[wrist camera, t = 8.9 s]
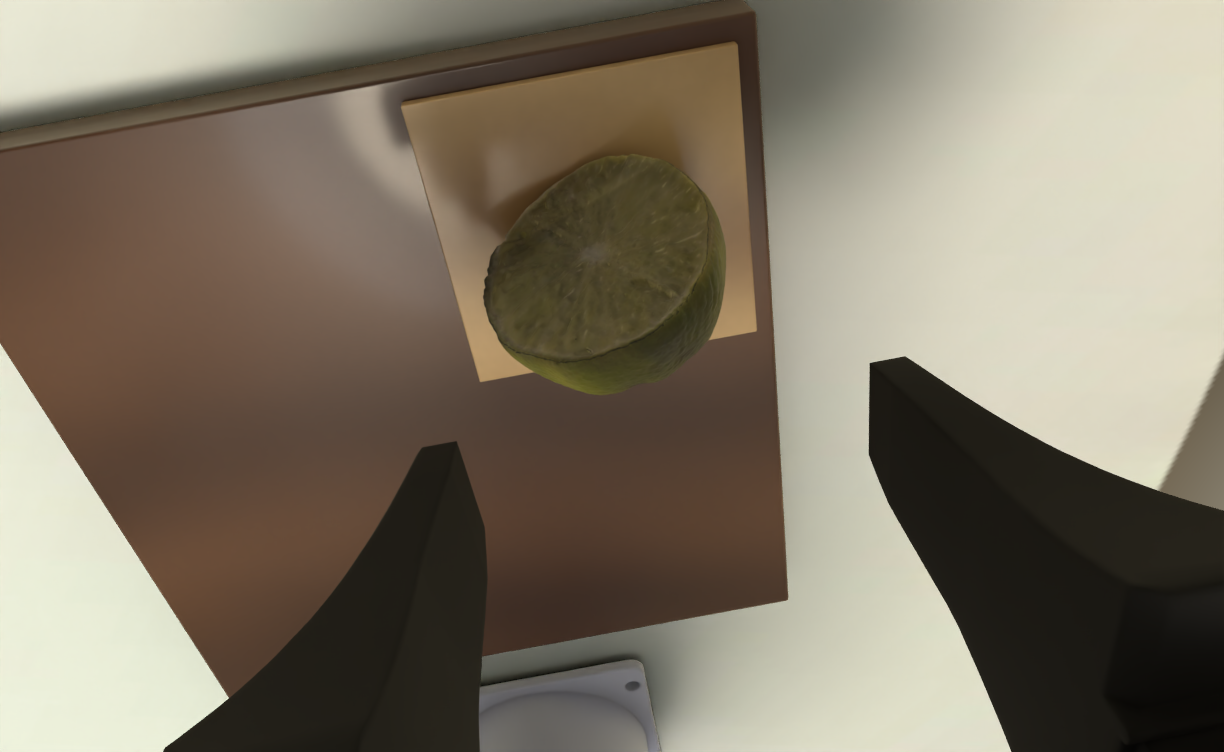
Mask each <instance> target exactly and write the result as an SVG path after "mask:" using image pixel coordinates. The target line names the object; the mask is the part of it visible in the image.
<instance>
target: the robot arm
mask: <svg viewBox="0 0 1224 752" xmlns="http://www.w3.org/2000/svg"><path fill="white" fill-rule="evenodd" d="M869 456H870V459H871V461H872V464H873V467H874V469H875V472H876V474H877V477H878V479H879V482H880V484H881V487H882V489H883V491H884V494H885V496H886V498H887V501H888V503H889V505H890V507H891V509H892V510H893V512H894V514H895V516H896V517H897V519H898V521H899V523H900V524H901V526H902V528H903V530H904V531H905V533H906V535H907V537H908V538H909V540H910V542H911V544H912V545H913V547H914V549H915V550H916V552H917V554H918V556H919V557H920V559H921V561H922V562H923V564H924V566H925V568H926V569H927V571H928V573H929V574H930V576H931V578H932V580H933V581H934V583H935V585H936V586H937V588H938V590H939V592H940V593H941V595H942V597H943V598H944V600H945V602H946V604H947V605H948V607H949V609H950V611H951V613H952V615H953V617H954V619H955V621H956V623H957V625H958V627H959V629H960V631H961V633H962V635H963V638H964V640H965V642H966V644H967V647H968V649H969V651H970V654H971V656H972V658H973V660H974V663H975V665H976V667H977V669H978V672H979V674H980V676H981V679H982V681H983V683H984V686H985V688H986V690H987V693H988V695H989V698H990V700H991V702H992V705H993V707H994V710H995V712H996V714H997V717H998V719H999V722H1000V724H1001V726H1002V729H1003V731H1004V734H1005V736H1006V739H1007V742H1008V744H1009V747H1010V749H1011V752H1224V511H1223V510H1219V509H1216V508H1212V507H1209V506H1205V505H1202V504H1198V503H1194V502H1191V501H1188V500H1185V499H1181V498H1178V497H1175V496H1172V495H1169V494H1166V493H1163V492H1160V491H1157V490H1155V489H1152V488H1149V487H1146V486H1143V485H1141V484H1138V483H1135V482H1132V481H1130V480H1127V479H1124V478H1122V477H1119V476H1117V475H1114V474H1112V473H1109V472H1107V471H1104V470H1102V469H1100V468H1097V467H1095V466H1093V465H1091V464H1088V463H1086V462H1084V461H1082V460H1080V459H1077V458H1075V457H1073V456H1071V455H1068V454H1066V453H1064V452H1062V451H1060V450H1058V449H1056V448H1054V447H1052V446H1050V445H1048V444H1046V443H1044V442H1042V441H1041V440H1039V439H1037V438H1035V437H1033V436H1031V435H1029V434H1028V433H1026V432H1024V431H1022V430H1020V429H1018V428H1017V427H1015V426H1013V425H1011V424H1010V423H1008V422H1006V421H1005V420H1003V419H1001V418H999V417H998V416H996V415H994V414H993V413H991V412H989V411H988V410H986V409H985V408H983V407H981V406H980V405H978V404H977V403H975V402H973V401H972V400H970V399H969V398H967V397H966V396H964V395H963V394H961V393H960V392H958V391H956V390H955V389H953V388H952V387H950V386H949V385H947V384H946V383H944V382H943V381H941V380H940V379H938V378H937V377H935V376H934V375H932V374H931V373H929V372H928V371H926V370H925V369H923V368H922V367H921V366H919V365H917V364H916V363H914V362H913V361H911V360H910V359H908V358H907V357H899V358H894V359H889V360H883V361H878V362H873V363H870V390H869ZM487 582H488V574H487V554H486V538H485V526H484V523H483V520H482V517H481V514H480V511H479V508H478V505H477V502H476V498H475V495H474V492H473V489H472V486H471V483H470V480H469V477H468V474H467V471H466V468H465V465H464V462H463V459H462V455H461V452H460V449H459V446H458V443H457V441H454V442H448V443H443V444H438V445H433V446H427V447H422V448H421V450H420V451H419V452H418V454H417V455H416V457H415V459H414V461H413V463H412V465H411V467H410V469H409V471H408V473H407V475H406V476H405V478H404V480H403V482H402V484H401V486H400V488H399V489H398V491H397V493H396V495H395V497H394V499H393V500H392V502H391V504H390V506H389V507H388V509H387V511H386V512H385V514H384V516H383V517H382V519H381V521H380V522H379V524H378V526H377V528H376V529H375V531H374V533H373V534H372V536H371V537H370V539H369V541H368V542H367V544H366V545H365V547H364V548H363V550H362V551H361V552H360V554H359V555H358V557H357V558H356V560H355V561H354V563H353V564H352V566H351V567H350V569H349V570H348V572H347V573H346V575H345V576H344V577H343V579H342V580H341V581H340V583H339V584H338V585H337V587H336V588H335V589H334V591H333V592H332V593H331V595H330V596H329V597H328V598H327V600H326V601H325V602H324V603H323V605H322V606H321V607H320V608H319V609H318V611H317V612H316V613H315V614H314V615H313V617H312V618H311V619H310V620H309V621H308V622H307V623H306V624H305V625H304V626H303V628H302V629H301V630H300V631H299V632H298V633H297V634H296V635H295V636H294V637H293V638H292V639H291V640H290V641H289V642H288V643H287V644H286V645H285V646H284V647H283V649H282V650H281V651H280V652H279V653H278V654H277V655H276V656H275V657H274V658H273V659H272V660H271V661H270V662H269V663H268V664H267V665H266V666H264V667H263V668H262V669H261V670H260V671H259V672H258V673H257V674H256V675H255V676H254V677H253V678H252V679H251V680H249V681H248V682H247V683H246V684H245V685H244V686H243V687H241V688H240V689H239V690H238V691H237V692H236V693H235V694H233V695H232V696H231V697H230V698H229V699H228V700H226V701H225V702H224V703H223V704H222V705H220V706H219V707H218V708H217V709H215V710H214V711H213V712H212V713H210V714H209V715H208V716H206V717H205V718H204V719H203V720H201V721H200V722H199V723H197V724H196V725H195V726H193V727H192V728H191V729H190V730H188V731H187V732H186V733H184V734H183V735H182V736H180V737H179V738H178V739H177V740H175V741H174V742H172V743H171V744H170V745H168V746H167V747H165V749H164V751H163V752H661V750H660V745H659V740H658V736H657V731H656V726H655V721H654V716H653V711H652V706H651V701H650V697H649V692H648V687H647V682H646V677H645V672H644V667H643V665H642V663H640V662H639V661H637V660H633V659H631V660H623V661H618V662H612V663H607V664H601V665H596V666H591V667H585V668H580V669H574V670H569V671H563V672H558V673H553V674H547V675H542V676H536V677H531V678H525V679H520V680H515V681H509V682H504V683H498V684H493V685H487V686H482V687H480V679H481V666H482V652H483V639H484V626H485V612H486V598H487Z"/></svg>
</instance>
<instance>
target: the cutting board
mask: <svg viewBox="0 0 1224 752" xmlns="http://www.w3.org/2000/svg"><path fill="white" fill-rule="evenodd" d="M630 154H638V155H642V156H646V157H651V158H654V159H656V158H658V159H662V160H664V161H667V162H669V163H671V164H672V165H674V166H675V167H676V168H678V169H679V170H680V171H682V172H684V173H685V174H686V175H687V176H689V177H690V179H692V180H693V181H694V182H695V183H696V184H697V185H698V187H699V188H700V189H701V190H702V191H703V192H705V194H706V195H707V197H708V198H709V200H710V202H711V204H712V206H713V207H714V210H715V212H716V214H717V216H718V218H719V221H720V225H721V229H722V232H723V235H724V240H725V246H726V277H725V287H724V295H723V301H722V306H721V310H720V314H719V317H718V320H717V323H716V325H715V328H714V330H713V333H712V335H711V337H710V339H709V340H708V341H707V342H706V343H705V344H704V346H703V347H702V348H701V349H700V350H699V351H698V352H697V353H696V354H695V355H694V356H692V357H691V358H689V359H688V360H687V361H686V362H685V363H684V364H683V365H682V366H681V367H680V368H679V369H677V370H676V371H675V372H674V373H672V374H671V375H669V376H668V377H667V378H665V379H664V380H661V381H658V382H655V383H644V384H639V385H636V386H633V387H631V388H629V389H627V390H625V391H623V392H620V393H616V394H608V395H594V394H588V393H584V392H581V391H577V390H574V389H571V388H569V387H566V386H563V385H561V384H558V383H555V382H553V381H551V380H549V379H546V378H544V377H542V376H541V375H539V374H536V373H535V372H534V371H532V370H530V369H529V368H527V367H525V366H524V365H522V364H521V363H519V362H518V361H517V360H515V359H514V358H513V357H512V356H511V355H510V354H509V353H508V352H507V351H506V350H505V349H504V348H503V346H502V345H501V343H500V342H499V340H498V337H497V334H496V332H495V331H494V330H493V327H492V326H491V324H490V323H489V321H488V317H487V313H486V308H485V306H484V300H483V295H484V289H485V284H484V279H485V278H486V276H488V273H487V268H488V267H489V261H490V256H491V255H492V253H493V252H494V250H495V249H496V247H497V246H499V245H501V244H502V242H503V241H505V240H506V239H505V236H506V234H507V233H508V231H509V230H510V229H511V228H512V227H513V225H514V224H515V223H516V221H517V219H519V217H520V216H521V214H522V213H523V212H524V210H525V209H526V208H527V207H528V206H529V205H530V204H532V203H533V202H535V201H536V200H537V199H538V198H539V196H541V195H542V194H543V193H544V192H545V191H546V190H547V189H549V188H550V187H551V186H552V185H554V184H555V183H557V182H558V181H560V180H561V179H563V178H564V177H566V176H568V175H570V174H571V173H573V172H574V171H576V170H577V169H578V168H580V167H581V166H583V165H585V164H587V163H589V162H591V161H594V160H597V159H601V158H602V157H606V156H621V155H626V156H628V155H630ZM0 344H1V345H2V347H3V348H4V350H5V351H6V353H7V355H8V356H9V358H10V359H11V361H12V362H13V364H14V365H15V367H16V369H17V370H18V372H19V373H20V375H21V376H22V378H23V379H24V381H25V383H26V384H27V386H28V387H29V389H30V390H31V392H32V393H33V395H34V396H35V398H36V400H37V401H38V403H39V404H40V406H41V407H42V409H43V410H44V412H45V414H46V415H47V417H48V418H49V420H50V421H51V423H52V424H53V426H54V427H55V429H56V431H57V432H58V434H59V435H60V437H61V438H62V440H63V441H64V443H65V445H66V446H67V448H68V449H69V451H70V452H71V454H72V455H73V457H74V458H75V460H76V462H77V463H78V465H79V466H80V468H81V469H82V471H83V472H84V474H85V476H86V477H87V479H88V480H89V482H90V483H91V485H92V486H93V488H94V489H95V491H96V493H97V494H98V496H99V497H100V499H101V500H102V502H103V503H104V505H105V507H106V508H107V510H108V511H109V513H110V514H111V516H112V517H113V519H114V520H115V522H116V524H117V525H118V527H119V528H120V530H121V531H122V533H123V534H124V536H125V538H126V539H127V541H128V542H129V544H130V545H131V547H132V548H133V550H134V552H135V553H136V555H137V556H138V558H139V559H140V561H141V562H142V564H143V565H144V567H145V569H146V570H147V572H148V573H149V575H150V576H151V578H152V579H153V581H154V583H155V584H156V586H157V587H158V589H159V590H160V592H161V593H162V595H163V596H164V598H165V600H166V601H167V603H168V604H169V606H170V607H171V609H172V610H173V612H174V614H175V615H176V617H177V618H178V620H179V621H180V623H181V624H182V626H183V627H184V629H185V631H186V632H187V634H188V635H189V637H190V638H191V640H192V641H193V643H194V645H195V646H196V648H197V649H198V651H199V652H200V654H201V655H202V657H203V658H204V660H205V662H206V663H207V665H208V666H209V668H210V669H211V671H212V672H213V674H214V676H215V677H216V679H217V680H218V682H219V683H220V685H221V686H222V688H223V689H224V691H225V693H226V694H227V696H228V697H229V698H230V697H231V696H232V695H233V694H235V693H236V692H237V691H238V690H239V689H240V688H241V687H243V686H244V685H245V684H246V683H247V682H248V681H249V680H251V679H252V678H253V677H254V676H255V675H256V674H257V673H258V672H259V671H260V670H261V669H262V668H263V667H264V666H266V665H267V664H268V663H269V662H270V661H271V660H272V659H273V658H274V657H275V656H276V655H277V654H278V653H279V652H280V651H281V650H282V649H283V647H284V646H285V645H286V644H287V643H288V642H289V641H290V640H291V639H292V638H293V637H294V636H295V635H296V634H297V633H298V632H299V631H300V630H301V629H302V628H303V626H304V625H305V624H306V623H307V622H308V621H309V620H310V619H311V618H312V617H313V615H314V614H315V613H316V612H317V611H318V609H319V608H320V607H321V606H322V605H323V603H324V602H325V601H326V600H327V598H328V597H329V596H330V595H331V593H332V592H333V591H334V589H335V588H336V587H337V585H338V584H339V583H340V581H341V580H342V579H343V577H344V576H345V575H346V573H347V572H348V570H349V569H350V567H351V566H352V564H353V563H354V561H355V560H356V558H357V557H358V555H359V554H360V552H361V551H362V550H363V548H364V547H365V545H366V544H367V542H368V541H369V539H370V537H371V536H372V534H373V533H374V531H375V529H376V528H377V526H378V524H379V522H380V521H381V519H382V517H383V516H384V514H385V512H386V511H387V509H388V507H389V506H390V504H391V502H392V500H393V499H394V497H395V495H396V493H397V491H398V489H399V488H400V486H401V484H402V482H403V480H404V478H405V476H406V475H407V473H408V471H409V469H410V467H411V465H412V463H413V461H414V459H415V457H416V455H417V454H418V452H419V451H420V450H421V448H422V447H427V446H433V445H438V444H443V443H448V442H454V441H457V443H458V446H459V449H460V452H461V455H462V459H463V462H464V465H465V468H466V471H467V474H468V477H469V480H470V483H471V486H472V489H473V492H474V495H475V498H476V502H477V505H478V508H479V511H480V514H481V517H482V520H483V523H484V526H485V538H486V554H487V574H488V582H487V598H486V612H485V626H484V639H483V652H482V656H488V655H493V654H499V653H504V652H510V651H515V650H520V649H526V648H531V647H537V646H542V645H548V644H553V643H558V642H564V641H569V640H575V639H580V638H586V637H591V636H596V635H602V634H607V633H613V632H618V631H624V630H629V629H634V628H640V627H645V626H651V625H656V624H662V623H667V622H672V621H678V620H683V619H689V618H694V617H700V616H705V615H710V614H716V613H721V612H727V611H732V610H738V609H743V608H748V607H754V606H759V605H765V604H770V603H776V602H781V601H786V600H788V582H787V563H786V545H785V527H784V509H783V490H782V472H781V454H780V436H779V417H778V399H777V381H776V363H775V344H774V326H773V308H772V290H771V271H770V253H769V235H768V217H767V198H766V180H765V162H764V144H763V126H762V107H761V89H760V71H759V53H758V34H757V16H756V13H755V11H754V10H753V9H752V8H751V7H750V6H749V5H748V4H746V3H745V2H744V1H743V0H720V1H714V2H709V3H703V4H698V5H692V6H687V7H682V8H676V9H671V10H665V11H660V12H654V13H649V14H643V15H638V16H632V17H627V18H622V19H616V20H611V21H605V22H600V23H594V24H589V25H583V26H578V27H573V28H567V29H562V30H556V31H551V32H545V33H540V34H534V35H529V36H523V37H518V38H513V39H507V40H502V41H496V42H491V43H485V44H480V45H474V46H469V47H464V48H458V49H453V50H447V51H442V52H436V53H431V54H425V55H420V56H415V57H409V58H404V59H398V60H393V61H387V62H382V63H376V64H371V65H365V66H360V67H355V68H349V69H344V70H338V71H333V72H327V73H322V74H316V75H311V76H306V77H300V78H295V79H289V80H284V81H278V82H273V83H267V84H262V85H256V86H251V87H246V88H240V89H235V90H229V91H224V92H218V93H213V94H207V95H202V96H197V97H191V98H186V99H180V100H175V101H169V102H164V103H158V104H153V105H148V106H142V107H137V108H131V109H126V110H120V111H115V112H109V113H104V114H98V115H93V116H88V117H82V118H77V119H71V120H66V121H60V122H55V123H49V124H44V125H39V126H33V127H28V128H22V129H17V130H11V131H6V132H0Z"/></svg>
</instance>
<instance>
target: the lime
mask: <svg viewBox="0 0 1224 752" xmlns="http://www.w3.org/2000/svg"><path fill="white" fill-rule="evenodd" d="M505 239H506V240H505V241H503V242H502V244H501V245H499V246H497V247H496V249H495V250H494V252H493V253H492V255H491V256H490V261H489V267H488V268H487V273H488V276H486V278H485V279H484V284H485V289H484V295H483V300H484V306H485V308H486V313H487V317H488V321H489V323H490V324H491V326H492V327H493V330H494V331H495V332H496V334H497V337H498V340H499V342H500V343H501V345H502V346H503V348H504V349H505V350H506V351H507V352H508V353H509V354H510V355H511V356H512V357H513V358H514V359H515V360H517V361H518V362H519V363H521V364H522V365H524V366H525V367H527V368H529V369H530V370H532V371H534V372H535V373H536V374H539V375H541V376H542V377H544V378H546V379H549V380H551V381H553V382H555V383H558V384H561V385H563V386H566V387H569V388H571V389H574V390H577V391H581V392H584V393H588V394H594V395H608V394H616V393H620V392H623V391H625V390H627V389H629V388H631V387H633V386H636V385H639V384H644V383H655V382H658V381H661V380H664V379H665V378H667V377H668V376H669V375H671V374H672V373H674V372H675V371H676V370H677V369H679V368H680V367H681V366H682V365H683V364H684V363H685V362H686V361H687V360H688V359H689V358H691V357H692V356H694V355H695V354H696V353H697V352H698V351H699V350H700V349H701V348H702V347H703V346H704V344H705V343H706V342H707V341H708V340H709V339H710V337H711V335H712V333H713V330H714V328H715V325H716V323H717V320H718V317H719V314H720V310H721V306H722V301H723V295H724V287H725V277H726V246H725V240H724V235H723V232H722V229H721V225H720V221H719V218H718V216H717V214H716V212H715V210H714V207H713V206H712V204H711V202H710V200H709V198H708V197H707V195H706V194H705V192H703V191H702V190H701V189H700V188H699V187H698V185H697V184H696V183H695V182H694V181H693V180H692V179H690V177H689V176H687V175H686V174H685V173H684V172H682V171H680V170H679V169H678V168H676V167H675V166H674V165H672V164H671V163H669V162H667V161H664V160H662V159H658V158H656V159H654V158H651V157H646V156H642V155H638V154H630V155H628V156H626V155H621V156H606V157H602V158H601V159H597V160H594V161H591V162H589V163H587V164H585V165H583V166H581V167H580V168H578V169H577V170H576V171H574V172H573V173H571V174H570V175H568V176H566V177H564V178H563V179H561V180H560V181H558V182H557V183H555V184H554V185H552V186H551V187H550V188H549V189H547V190H546V191H545V192H544V193H543V194H542V195H541V196H539V198H538V199H537V200H536V201H535V202H533V203H532V204H530V205H529V206H528V207H527V208H526V209H525V210H524V212H523V213H522V214H521V216H520V217H519V219H517V221H516V223H515V224H514V225H513V227H512V228H511V229H510V230H509V231H508V233H507V234H506V236H505Z"/></svg>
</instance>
